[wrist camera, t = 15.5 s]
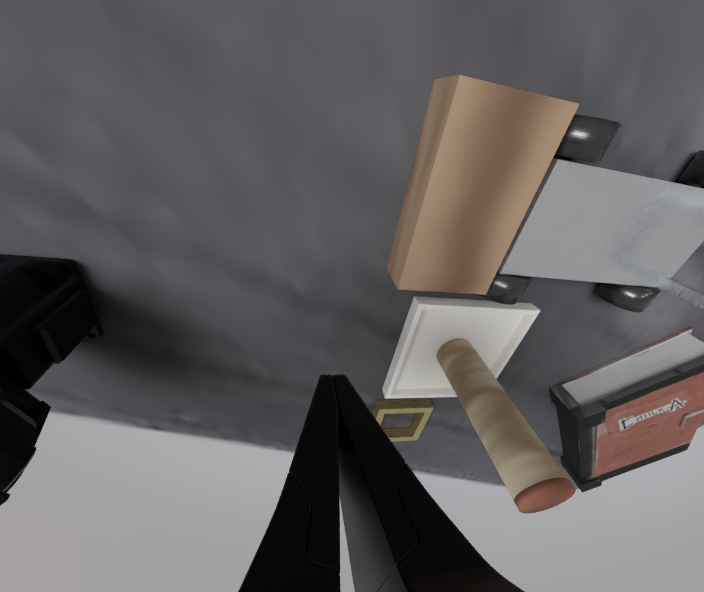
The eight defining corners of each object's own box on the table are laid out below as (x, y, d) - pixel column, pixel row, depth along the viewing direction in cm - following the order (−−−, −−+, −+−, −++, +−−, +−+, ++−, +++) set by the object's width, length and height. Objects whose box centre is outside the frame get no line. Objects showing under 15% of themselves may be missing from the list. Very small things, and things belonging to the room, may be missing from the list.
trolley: (464, 278, 24) (522, 339, 18) (537, 112, 18) (667, 117, 12) (615, 290, 28) (707, 344, 22) (720, 156, 22) (892, 178, 15)
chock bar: (385, 265, 23) (397, 289, 20) (431, 79, 16) (459, 75, 14) (463, 271, 24) (485, 294, 21) (534, 103, 18) (579, 103, 15)
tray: (382, 389, 31) (384, 398, 30) (414, 295, 24) (419, 304, 23) (480, 387, 33) (485, 396, 32) (531, 303, 27) (540, 310, 26)
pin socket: (365, 433, 35) (367, 443, 34) (376, 399, 32) (379, 409, 31) (413, 430, 36) (417, 440, 35) (429, 398, 33) (433, 407, 32)
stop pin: (436, 367, 29) (514, 517, 19) (436, 343, 27) (524, 496, 17) (469, 359, 30) (566, 504, 19) (472, 334, 27) (582, 480, 17)
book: (661, 421, 48) (695, 451, 44) (559, 460, 51) (582, 492, 47) (691, 321, 33) (746, 352, 29) (546, 384, 36) (578, 420, 32)
